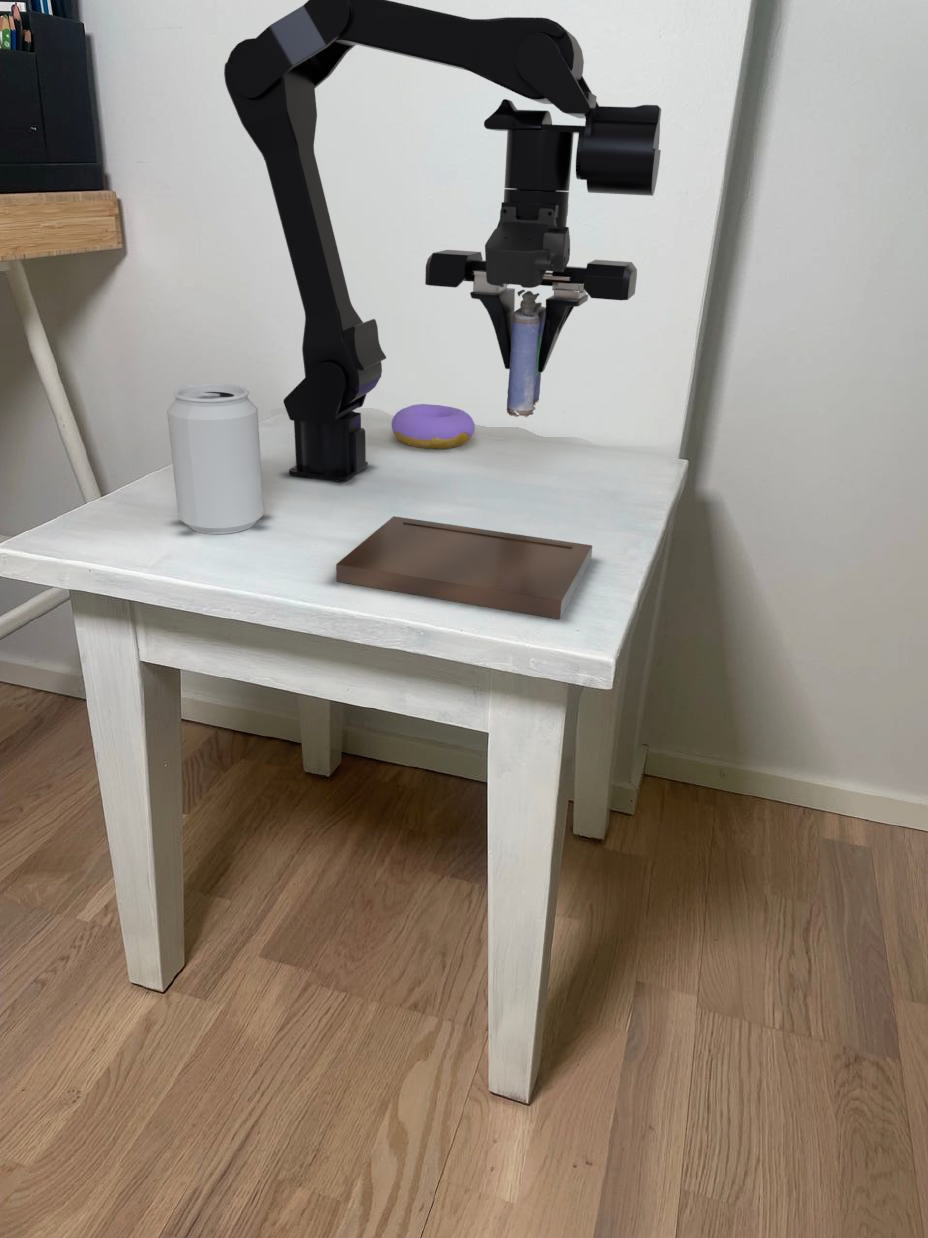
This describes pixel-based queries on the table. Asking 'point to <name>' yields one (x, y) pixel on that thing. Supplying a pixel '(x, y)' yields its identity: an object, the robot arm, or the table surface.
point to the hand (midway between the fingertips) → (524, 369)
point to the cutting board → (469, 566)
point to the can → (216, 458)
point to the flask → (525, 356)
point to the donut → (432, 426)
